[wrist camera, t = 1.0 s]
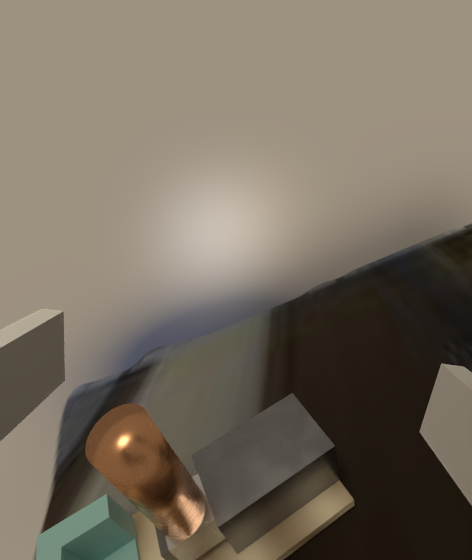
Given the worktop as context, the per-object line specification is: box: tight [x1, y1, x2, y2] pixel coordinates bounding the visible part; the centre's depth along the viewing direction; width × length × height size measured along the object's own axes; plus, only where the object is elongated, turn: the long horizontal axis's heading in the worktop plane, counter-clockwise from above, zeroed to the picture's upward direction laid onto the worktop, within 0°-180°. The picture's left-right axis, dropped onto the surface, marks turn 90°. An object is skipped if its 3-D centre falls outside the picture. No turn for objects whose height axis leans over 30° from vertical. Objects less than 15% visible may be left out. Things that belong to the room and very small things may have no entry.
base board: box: [131, 480, 354, 560], centre depth 29 cm, size 25×10×1 cm, turn 116°
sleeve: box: [192, 393, 339, 554], centre depth 29 cm, size 11×6×6 cm, turn 116°
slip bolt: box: [86, 404, 225, 560], centre depth 25 cm, size 15×4×16 cm, turn 116°
